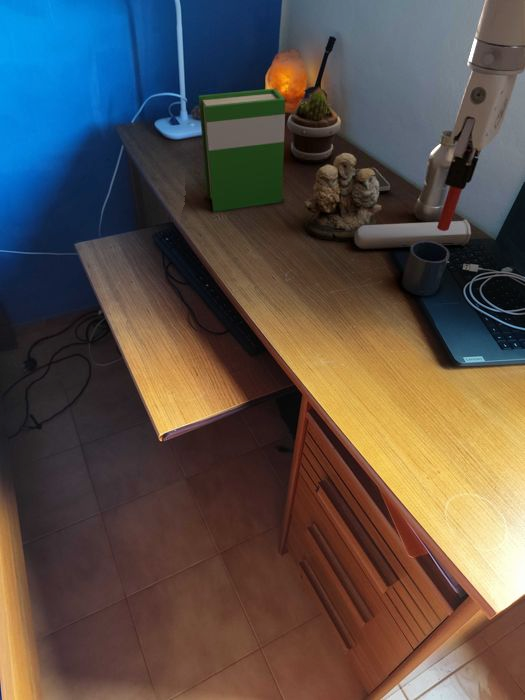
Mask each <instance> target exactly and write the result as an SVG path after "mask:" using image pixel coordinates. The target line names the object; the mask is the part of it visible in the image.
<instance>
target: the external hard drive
mask: <svg viewBox="0 0 525 700" xmlns="http://www.w3.org/2000/svg"><path fill="white" fill-rule="evenodd" d="M362 169H363V168H357V169H354V170H355V174H356V173H357V172H359V171H360V170H362ZM365 169H371V170H373V171H374V173H375V176H376V180H377V181H378V182H379V194H386V193H387V194H388V193H389V192H390V189H391V185H390V183H389V182H388V181H387V180H386V179H385V177H384V176H382V175H381V173H380V172H379V171H378V170H377V169H376V168H375V167H367V168H365Z"/></svg>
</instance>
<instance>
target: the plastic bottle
mask: <svg viewBox="0 0 525 700" xmlns="http://www.w3.org/2000/svg"><path fill="white" fill-rule="evenodd" d="M452 131H453V130H444V131H442V132H441V135H440V138H439V141H438V143H439V144H438V145H437V146H435V147H434V149H433V150H431V152H430V154H429V155H428V159H427V166H426V172H425V178H424V183H423V186H422V188H421V190H420V194H419V196H418V198H417V200H416V203H415V205H414V211H413V212H414V216H415V218H416V219H417V220H419V221H421V222H422V223H428V222H438V221H439V219H440V216H441V213H442V210H443V207H444V203H445V200H446V197H447V194H448V190H449V187H450V186H448V185H446V184H445V181H446V178H447V175H448V171H449V168H450V165H451V161H452V158H453V154H454V151H455V148H456V145H457V142H456V143H455V144H453V143H452V142H451V136H452Z"/></svg>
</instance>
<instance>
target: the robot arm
mask: <svg viewBox="0 0 525 700" xmlns="http://www.w3.org/2000/svg"><path fill="white" fill-rule="evenodd" d="M483 4H484V5H483V7H482V10H481V15H480V18H479V21H478V25H477V28H476V32H475V35H474V38H473V42H472V45H471V50H470V53H469V56H468V60H467V63H466V65H467V67H469V68H470V70H471V69H472V70H471V73H470V76H469V78H468V81H467V84H466V85H465V90H464V93H463V96H462V99H461V102H460V105H459V108H458V111H457V114H456V117H455V120H454V124H453V128H452V130H451V131H452V136H451V142H452V143H453V144H455V143H456V142H457V145H456V148H455V151H454V154H453V158H452V161H451V165H450V168H449V171H448V175H447V178H446V181H445V184H446V185H448V186H449V187H450V186H452V187H455V188H459V189H462V190H464V189H465V188H466V186H467V184H468V183H470V182H471V181H472V179H473V176H474V173H475V170H476V167H477V165H478V162H479V156H480V154H481V152H482V150H484V149H485V148H486V147H487V146H488V145H489V144H490V143H491V142H492V141H493V140H494V139H495V138H496V137H497V135H498V134H499V132H500V130H501V129H502V125H503V122H504V120H505V116H506V113H507V109H508V106H509V104H510V100H511V97H512V93H513V91H514V88H515V84H516V80H517V78H518V75H520V74H522V73H524V72H525V0H485V1H484V3H483ZM466 149H470V153H469V151H466Z"/></svg>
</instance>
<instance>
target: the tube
mask: <svg viewBox="0 0 525 700" xmlns="http://www.w3.org/2000/svg"><path fill="white" fill-rule="evenodd" d="M438 222H439V221H436V222H408V223H388V224H387V223H386V224H377V225H363V226H361V227H360V228H358V229H357V230H356V231H355V236H354V240H353V241H354V244H355V246H357V248H359V249H361V250H374V249H375V250H376V249H377V250H378V249H396V248H411V246H412V245H413V244H414V243H417V242H419V241H431V242H435V243H438V244H441V245H442V246H465V245H466V244H468V243H469V241H470V239H471V235H472V231H471V225H470V223H469V221H468V220H467V219H463V220H454V221H453V220H452V221H451V224H450V227H449V229H448V230H447V231H441V230H439V229H438V228H437V226H438ZM442 243H454V244H442ZM402 245H407V246H402Z"/></svg>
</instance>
